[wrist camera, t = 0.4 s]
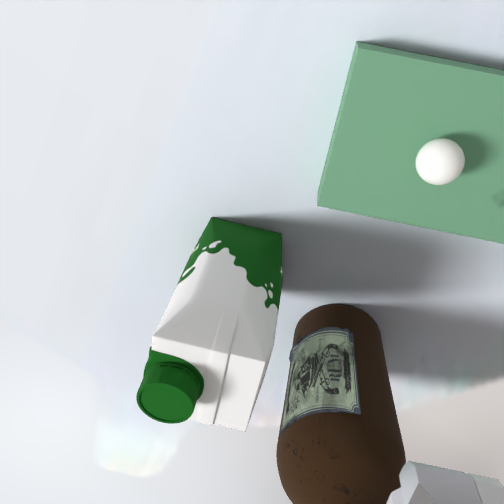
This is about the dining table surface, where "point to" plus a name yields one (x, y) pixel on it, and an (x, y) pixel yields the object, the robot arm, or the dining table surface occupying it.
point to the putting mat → (418, 142)
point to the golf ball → (440, 161)
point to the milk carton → (216, 330)
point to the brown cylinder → (339, 413)
